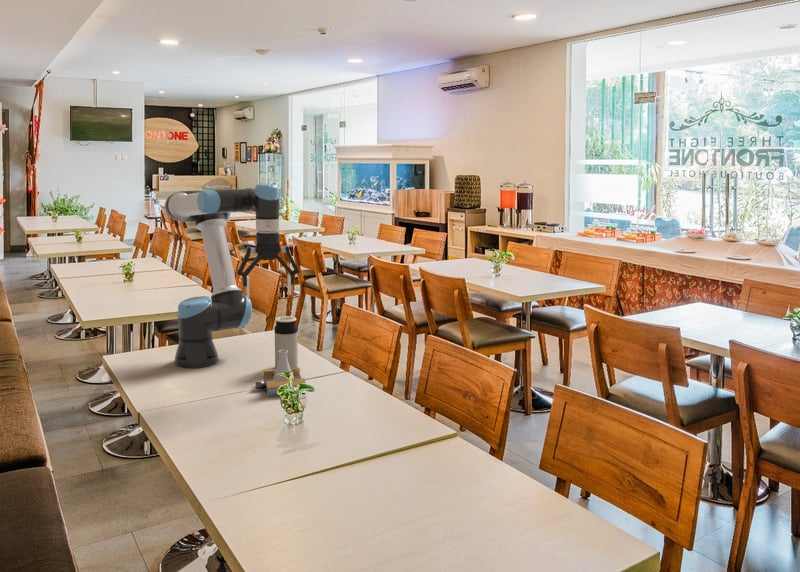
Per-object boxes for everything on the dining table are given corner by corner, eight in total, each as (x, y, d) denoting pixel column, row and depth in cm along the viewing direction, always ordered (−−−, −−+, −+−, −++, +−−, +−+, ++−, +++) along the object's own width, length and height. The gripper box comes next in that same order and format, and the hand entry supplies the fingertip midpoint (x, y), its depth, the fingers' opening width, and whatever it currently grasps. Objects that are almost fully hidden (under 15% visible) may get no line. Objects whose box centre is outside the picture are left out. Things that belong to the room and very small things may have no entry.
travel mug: (302, 366, 248) (301, 317, 245) (287, 372, 241) (286, 322, 238) (285, 362, 252) (284, 314, 249) (270, 368, 246) (269, 319, 242)
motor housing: (253, 383, 229) (253, 370, 228) (299, 379, 234) (298, 367, 233) (257, 397, 216) (257, 383, 215) (305, 393, 220) (305, 380, 220)
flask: (297, 377, 228) (296, 348, 226) (291, 384, 221) (291, 354, 219) (275, 376, 229) (275, 347, 227) (269, 383, 222) (269, 353, 220)
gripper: (229, 233, 219) (231, 298, 223) (307, 232, 226) (307, 295, 230) (228, 231, 226) (229, 294, 230) (303, 229, 233) (304, 291, 237)
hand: (268, 295), depth 230 cm, fingers open, 13 cm apart
